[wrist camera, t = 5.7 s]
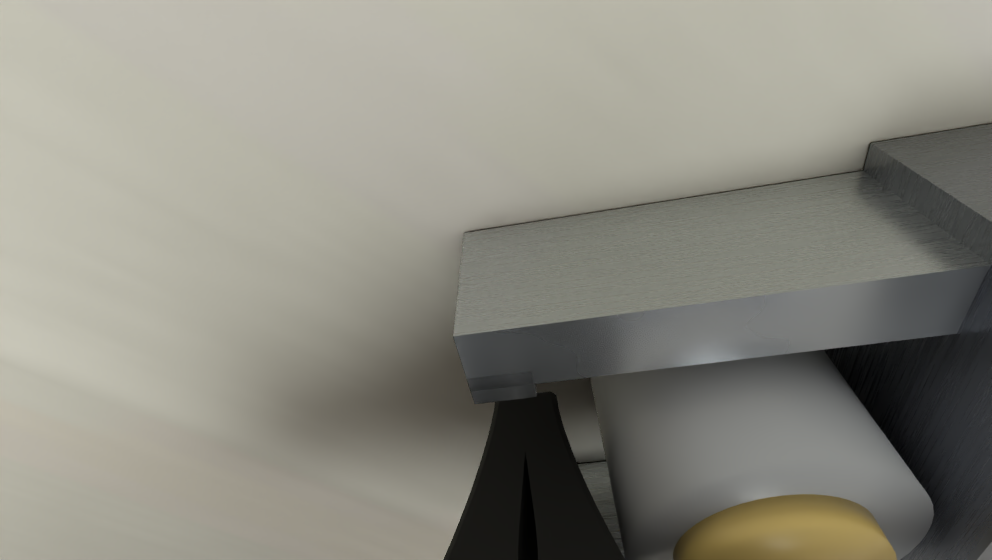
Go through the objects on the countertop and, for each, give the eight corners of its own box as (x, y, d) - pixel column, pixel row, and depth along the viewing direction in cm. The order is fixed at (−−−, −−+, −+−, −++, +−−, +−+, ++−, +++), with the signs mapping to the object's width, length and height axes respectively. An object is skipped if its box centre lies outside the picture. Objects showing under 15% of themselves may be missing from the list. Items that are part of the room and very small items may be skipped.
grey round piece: (597, 442, 13) (635, 643, 10) (581, 304, 10) (626, 515, 7) (789, 421, 13) (903, 626, 9) (827, 269, 10) (1013, 479, 6)
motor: (533, 501, 15) (544, 696, 11) (457, 209, 9) (430, 417, 5) (1122, 447, 13) (1361, 656, 10) (1499, 41, 7) (2485, 182, 4)
